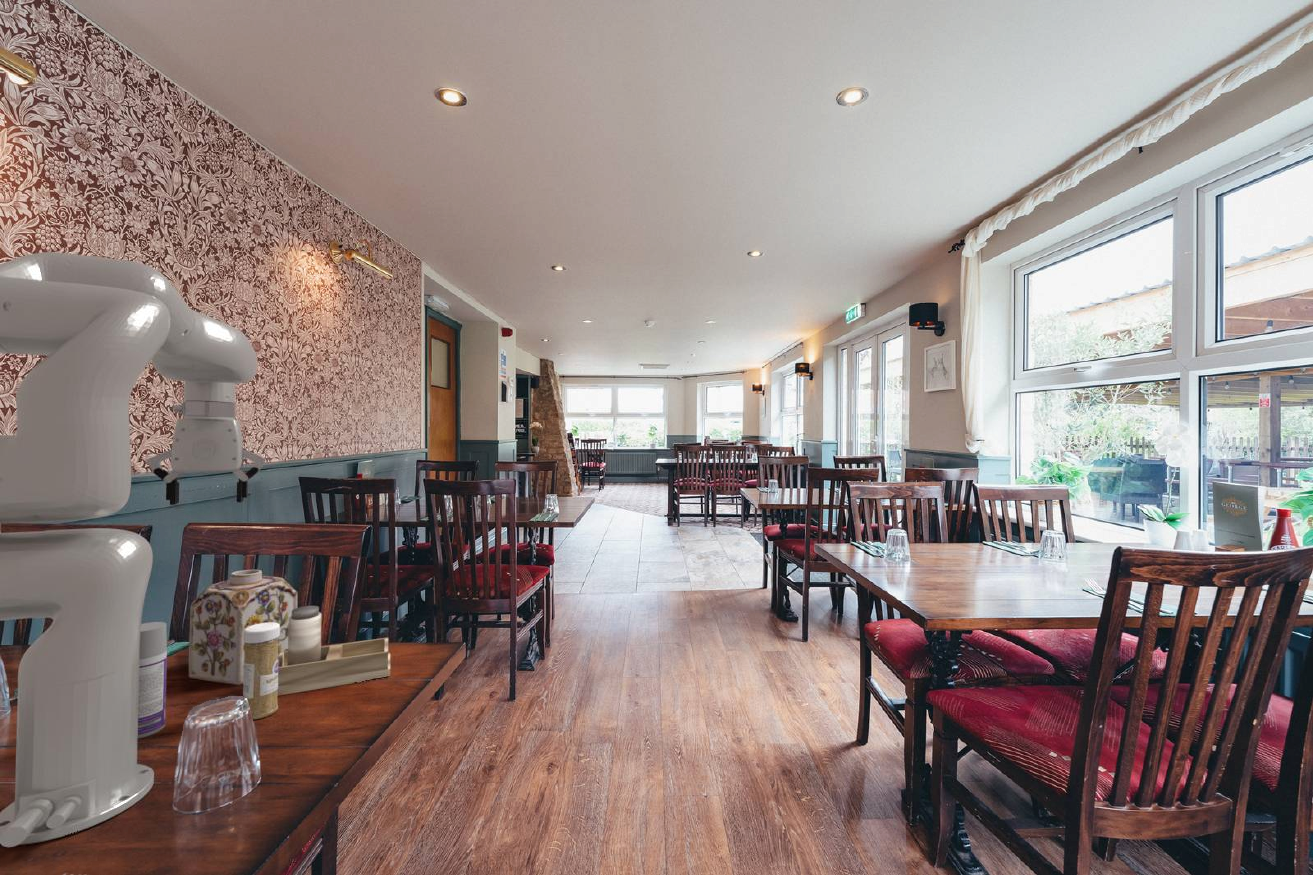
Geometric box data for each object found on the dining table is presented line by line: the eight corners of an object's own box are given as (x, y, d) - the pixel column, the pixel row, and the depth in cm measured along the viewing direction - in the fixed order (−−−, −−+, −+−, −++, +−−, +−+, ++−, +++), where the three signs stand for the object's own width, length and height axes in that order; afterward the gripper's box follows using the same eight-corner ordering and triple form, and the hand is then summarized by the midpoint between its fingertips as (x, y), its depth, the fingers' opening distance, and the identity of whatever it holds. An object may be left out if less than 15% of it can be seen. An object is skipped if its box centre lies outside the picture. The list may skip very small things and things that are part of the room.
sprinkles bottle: (277, 715, 82) (279, 627, 82) (240, 724, 80) (242, 633, 80) (278, 703, 86) (280, 619, 86) (243, 711, 84) (244, 624, 84)
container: (131, 726, 79) (134, 623, 79) (171, 720, 81) (173, 620, 81) (112, 742, 75) (115, 634, 75) (155, 736, 76) (157, 630, 76)
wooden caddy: (390, 677, 96) (391, 606, 96) (268, 697, 88) (269, 619, 88) (390, 660, 104) (391, 594, 104) (277, 677, 96) (278, 606, 96)
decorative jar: (186, 679, 95) (188, 576, 95) (250, 654, 106) (251, 563, 106) (239, 686, 92) (241, 581, 92) (299, 660, 103) (300, 566, 104)
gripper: (142, 409, 94) (139, 507, 94) (264, 413, 103) (262, 502, 103) (154, 411, 100) (152, 503, 100) (268, 415, 109) (266, 499, 109)
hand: (208, 502), depth 101 cm, fingers open, 9 cm apart
